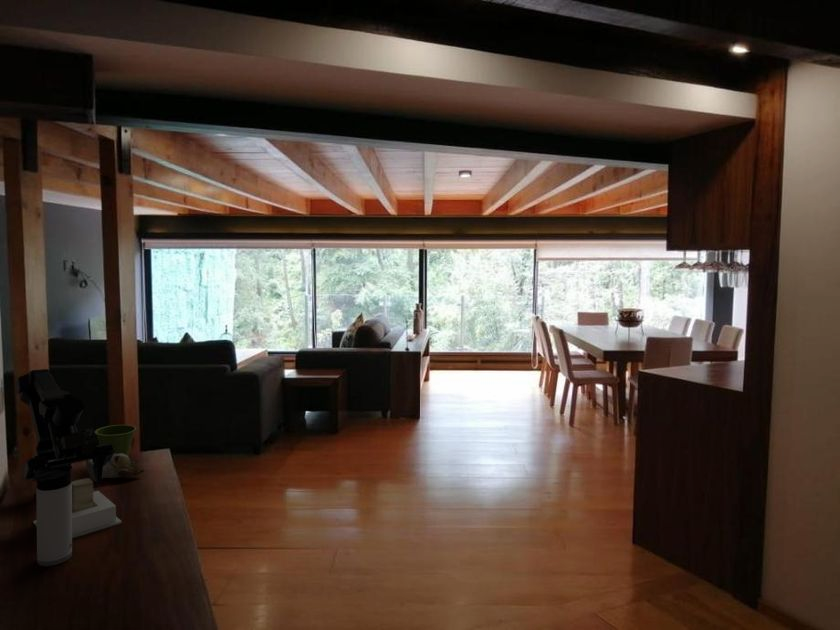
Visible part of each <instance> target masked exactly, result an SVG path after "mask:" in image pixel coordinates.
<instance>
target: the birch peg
mask: <svg viewBox="0 0 840 630" xmlns="http://www.w3.org/2000/svg"><path fill="white" fill-rule="evenodd" d="M71 481H72V513H74V512H78V511H81V510H85V509H89V508H92V507H93V492H94V481H93V480H92V479H91V477H87V478H81V479H76V480H71Z"/></svg>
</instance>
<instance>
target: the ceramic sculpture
mask: <svg viewBox="0 0 840 630" xmlns="http://www.w3.org/2000/svg"><path fill="white" fill-rule="evenodd" d="M138 463H139V461H138V460H134V461H131V459H130V457H128V456H127V455H125V454H123V453H120V454H116V453H115V452H114V454H113V456H112V458H111V460H110V461H109V462H107V463H106V465H104V466H103V470H102V478H101V480H103V479H119V478H122V477H124V478H131V477H135V476H137V475H140V474H142V473H143V472H145V470H144V469H138V468H137V467H134V466H135V465H137V464H138ZM85 464H86V465H85V466H86V471H87V474H89V478H90V479H91V481H92V482H96V478H95V474H94V470H93V465H94V463H93V461H92V459H91V460H86V461H85ZM96 483H97V482H96Z"/></svg>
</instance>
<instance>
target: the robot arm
mask: <svg viewBox="0 0 840 630" xmlns="http://www.w3.org/2000/svg"><path fill="white" fill-rule="evenodd" d="M14 383H15V384H14V385H15V386H14V390H15V393H16V394H18V397H19V400H20V401H21V402H22V403H24V404H26V405H27V406H28V408H29V412H30V415H31V421H32V424H33V429H34V432H35V437H36V442H37V445H36V447H35V451H34V453H33V454H34V455H33V457H31V458H28V459H27V461H26V462H25V465H24V468H23V476H24V479H25V480H31V481H35V482H37V475H38V474H39V473H41V472H43V471H45V470H47V469H50V468H54V467H60V466H64V465H70V466H72V464H76V463H81V462H86V460H91V459H92V461H93V463H94V465H93V470H94V474H95V478H96V484H97V486H98V487H99V486H101V485H102V479H103V478H102V470H103V466H104V465H106V463H107V462H109V461H110V460H111V458H112V456H113V454H114V452H115V449H114V446H113V445H112V444H110V443H109V444H103V445H99V444H98V445H96V446H95V447H94V449H93V451H89V452H85V453H84V451H86V449H87V447H86V446H88V444H89V443H91V442H94V441H95V440H96V434H95V430H94V428H86V429H85V430H83V432H79V431H78V429H77V425H76V424H78V422H79V421H80V418H81V415H82V413H83V410H84V409H85V404H84V402H83V401H82V400H81V399H80V398H78V397H75V396H73V394H72V393H70V392H69V391H67V390H63V389H60V387H59V386H58V384H57V383H56V380H55V379H54V377H53V374H52V370H51V369H48V368H42V369H32V370H29V371H28V372H27V373H26V374H24V375H21V376H19V377H18V378H16V381H15V382H14ZM101 478H102V479H101ZM36 492H37V490H36V491H35V493H36ZM35 500H36V501H37V497H36V496H35Z"/></svg>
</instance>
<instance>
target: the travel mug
mask: <svg viewBox="0 0 840 630" xmlns="http://www.w3.org/2000/svg"><path fill="white" fill-rule="evenodd" d="M72 469H73V466H72V465H71V466H70V465H64V466H60V467H54V468H50V469H47V470H45V471H43V472H41V473H39V474H38V475H37V481H36V491H37V492H36V491H35V498H36V497H37V500H36V520H37V527H36V562H37V563H36V564H38V566H40V567H53V566H56V565H61V564H63V563H64V562H66V561H68V560H69V559H70V558H72V555H73V538H72V481H73V480H72Z"/></svg>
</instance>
